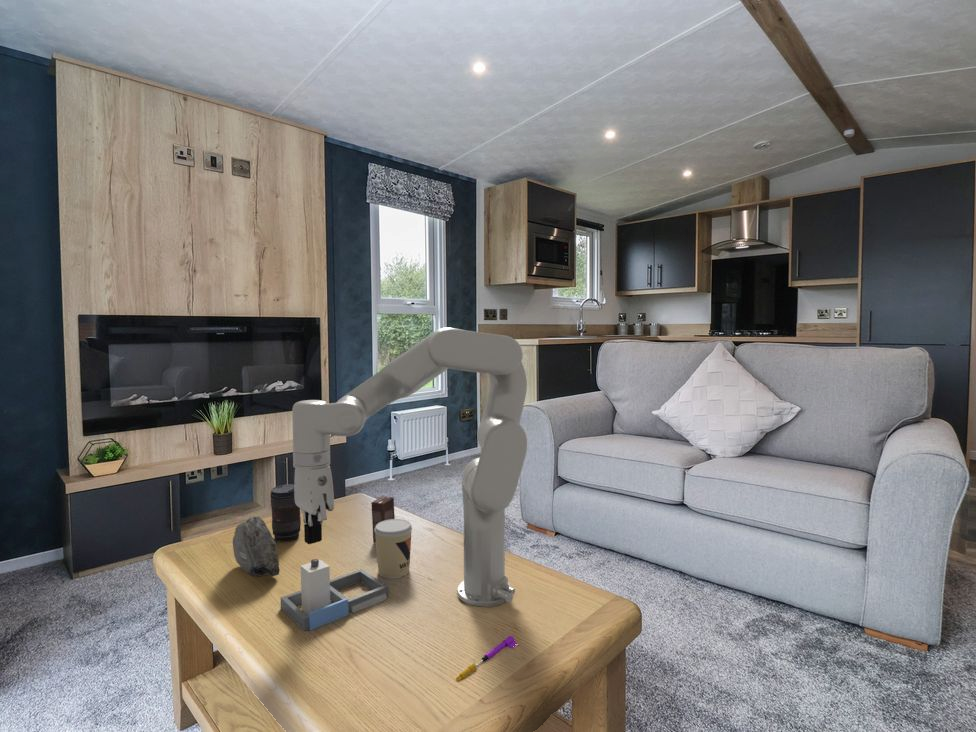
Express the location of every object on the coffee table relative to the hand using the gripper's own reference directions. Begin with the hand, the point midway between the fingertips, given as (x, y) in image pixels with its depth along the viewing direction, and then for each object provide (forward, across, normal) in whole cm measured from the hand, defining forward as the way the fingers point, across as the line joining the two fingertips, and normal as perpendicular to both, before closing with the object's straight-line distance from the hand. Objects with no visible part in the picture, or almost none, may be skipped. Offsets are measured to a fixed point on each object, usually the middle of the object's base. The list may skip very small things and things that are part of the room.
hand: (313, 541), depth 113 cm
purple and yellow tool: (+16, -39, -16) cm, 45 cm away
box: (+15, +23, -32) cm, 42 cm away
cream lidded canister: (+15, +4, -23) cm, 28 cm away
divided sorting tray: (+15, 0, -5) cm, 16 cm away
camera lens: (+16, +44, -12) cm, 48 cm away
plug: (+15, 0, 0) cm, 16 cm away
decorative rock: (+16, +27, +3) cm, 31 cm away
